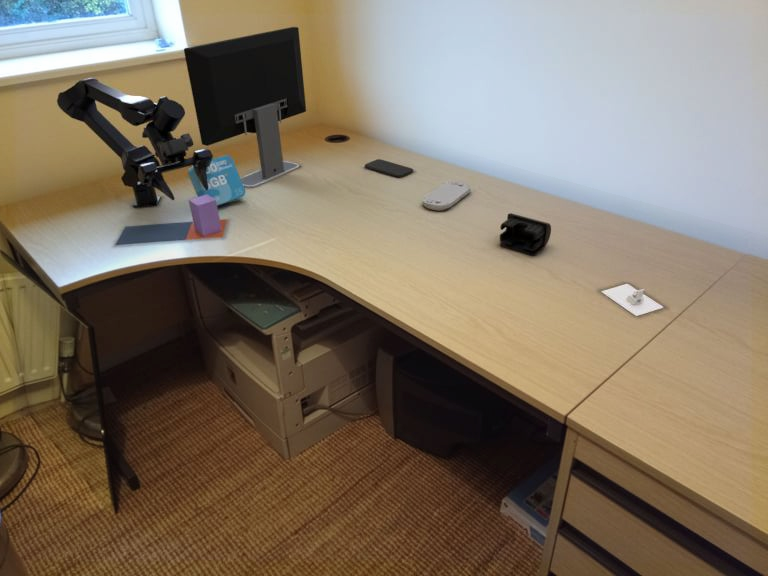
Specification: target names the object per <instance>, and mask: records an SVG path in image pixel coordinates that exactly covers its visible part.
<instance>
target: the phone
mask: <svg viewBox="0 0 768 576" xmlns="http://www.w3.org/2000/svg"><path fill="white" fill-rule="evenodd" d="M364 168H366V169H369V170H373V171H376V172H379V173H381V174H385V175H389V176H391V177H395V178H402V177H405V176H407V175H410V174H412V173H413V172H414V168H412V167H408V166H405V165H403V164H402V165H401V164H398V163H395V162H391V161H388V160H384V159H380V158H378V159H375V160H374V159H373V160H371V161H370V162H367V163H365V164H364Z"/></svg>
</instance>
